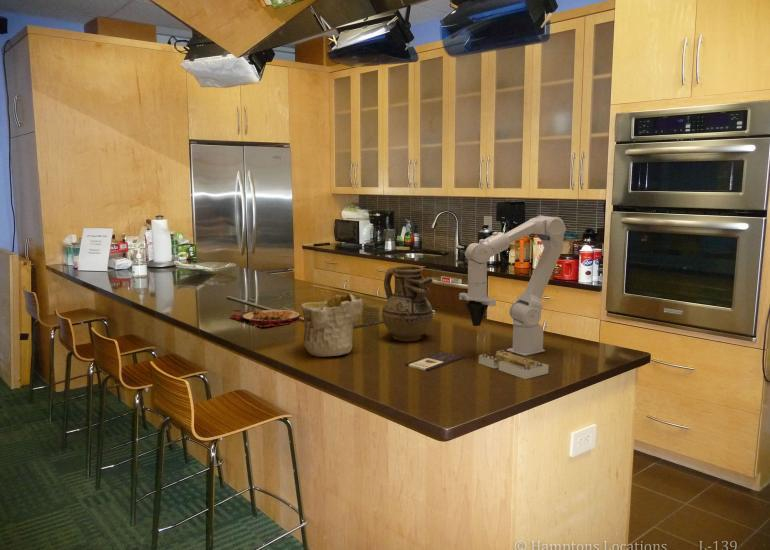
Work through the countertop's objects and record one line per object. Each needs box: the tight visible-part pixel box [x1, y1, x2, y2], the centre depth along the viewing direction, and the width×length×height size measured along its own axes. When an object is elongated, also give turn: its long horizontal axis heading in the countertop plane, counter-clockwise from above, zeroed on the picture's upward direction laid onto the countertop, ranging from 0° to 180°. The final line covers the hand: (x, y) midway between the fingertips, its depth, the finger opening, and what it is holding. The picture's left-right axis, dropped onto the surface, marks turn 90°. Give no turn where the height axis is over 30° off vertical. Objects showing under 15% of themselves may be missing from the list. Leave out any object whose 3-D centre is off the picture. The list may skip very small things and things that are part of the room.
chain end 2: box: [498, 359, 549, 380], centre depth 179 cm, size 9×10×3 cm
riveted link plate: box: [494, 351, 536, 367], centre depth 183 cm, size 4×12×4 cm, turn 34°
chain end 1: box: [478, 349, 513, 369], centre depth 188 cm, size 9×6×3 cm
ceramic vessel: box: [300, 293, 364, 358], centre depth 201 cm, size 21×22×23 cm
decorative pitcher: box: [381, 265, 434, 342], centre depth 217 cm, size 22×18×25 cm
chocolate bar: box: [405, 351, 465, 372], centre depth 191 cm, size 9×1×18 cm
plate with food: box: [230, 309, 304, 328], centre depth 252 cm, size 25×26×4 cm
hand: (476, 325), depth 194 cm, fingers closed
